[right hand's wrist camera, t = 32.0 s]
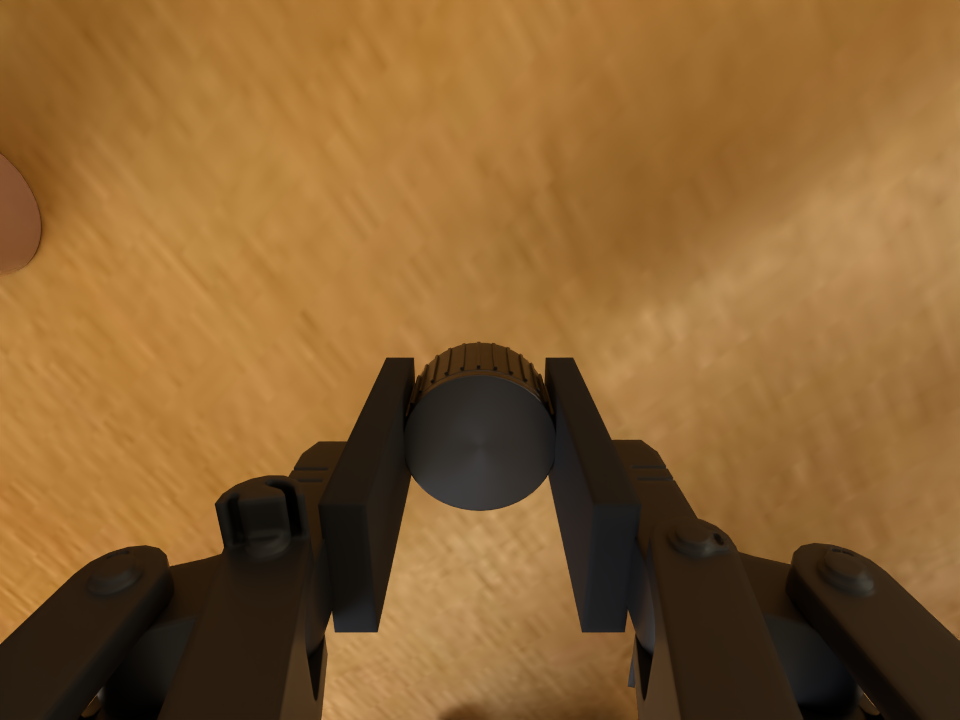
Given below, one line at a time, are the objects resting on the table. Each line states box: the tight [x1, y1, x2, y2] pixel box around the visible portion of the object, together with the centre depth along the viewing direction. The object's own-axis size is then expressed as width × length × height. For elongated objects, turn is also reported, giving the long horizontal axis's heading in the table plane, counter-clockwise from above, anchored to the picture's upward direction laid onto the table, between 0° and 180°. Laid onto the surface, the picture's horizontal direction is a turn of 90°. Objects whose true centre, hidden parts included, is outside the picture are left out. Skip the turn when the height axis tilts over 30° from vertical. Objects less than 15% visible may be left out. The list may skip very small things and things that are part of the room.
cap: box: [403, 342, 556, 511], centre depth 14 cm, size 4×4×2 cm
